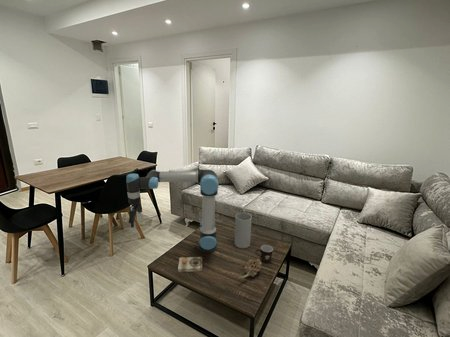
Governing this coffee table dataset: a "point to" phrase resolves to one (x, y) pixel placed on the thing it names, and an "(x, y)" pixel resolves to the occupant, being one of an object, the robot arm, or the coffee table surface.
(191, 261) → the block
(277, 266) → the coffee table surface
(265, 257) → the coffee mug
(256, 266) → the dried lotus pod
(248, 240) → the cylinder vase
